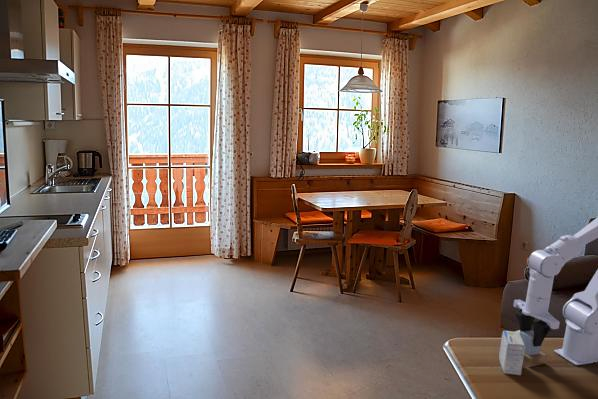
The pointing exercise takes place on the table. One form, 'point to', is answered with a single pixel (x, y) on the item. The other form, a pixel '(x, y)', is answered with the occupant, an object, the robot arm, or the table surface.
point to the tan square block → (534, 359)
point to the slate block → (529, 343)
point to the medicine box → (511, 352)
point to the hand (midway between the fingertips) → (530, 341)
